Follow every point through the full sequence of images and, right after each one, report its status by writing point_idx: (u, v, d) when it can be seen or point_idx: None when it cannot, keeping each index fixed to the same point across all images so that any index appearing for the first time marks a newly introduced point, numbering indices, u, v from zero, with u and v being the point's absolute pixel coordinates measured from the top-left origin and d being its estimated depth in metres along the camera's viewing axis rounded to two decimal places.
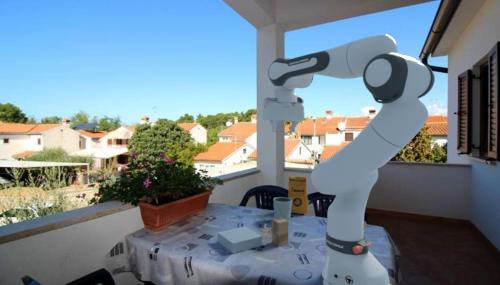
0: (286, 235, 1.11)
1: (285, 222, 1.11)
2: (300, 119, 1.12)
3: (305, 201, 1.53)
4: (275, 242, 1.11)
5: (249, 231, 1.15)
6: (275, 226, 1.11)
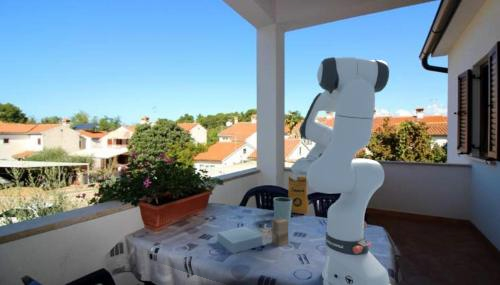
0: (286, 235, 1.11)
1: (285, 222, 1.11)
2: None
3: (305, 201, 1.53)
4: (275, 242, 1.11)
5: (249, 231, 1.15)
6: (275, 226, 1.11)
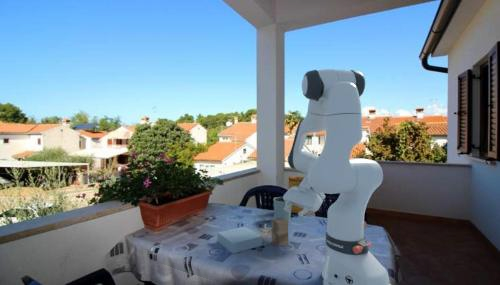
0: (286, 235, 1.12)
1: (285, 222, 1.11)
2: (309, 205, 1.11)
3: None
4: (275, 242, 1.11)
5: (249, 231, 1.15)
6: (275, 226, 1.11)
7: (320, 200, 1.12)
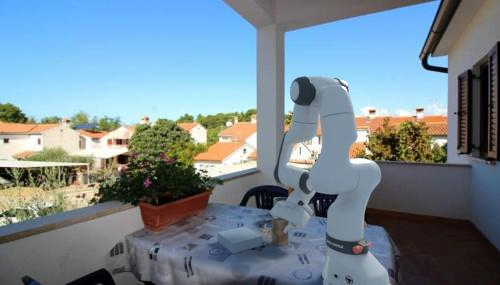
0: (286, 235, 1.11)
1: (285, 222, 1.11)
2: (295, 221, 1.07)
3: None
4: (275, 242, 1.11)
5: (249, 231, 1.15)
6: (275, 226, 1.11)
7: (307, 217, 1.08)
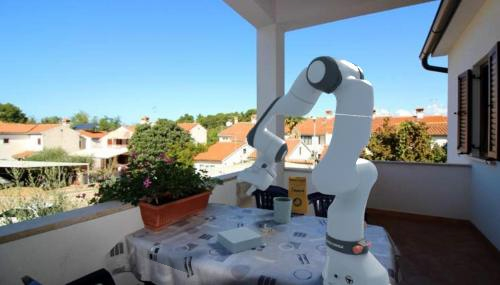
0: (250, 198, 1.11)
1: (248, 185, 1.11)
2: (257, 183, 1.07)
3: (305, 201, 1.53)
4: (238, 205, 1.11)
5: (249, 231, 1.15)
6: (238, 189, 1.11)
7: (270, 178, 1.08)
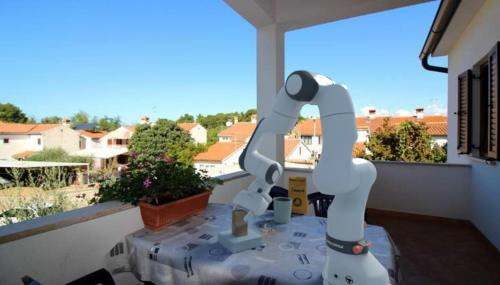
0: (245, 226, 1.11)
1: (244, 213, 1.10)
2: (253, 209, 1.06)
3: (305, 201, 1.53)
4: (234, 233, 1.11)
5: (249, 231, 1.15)
6: (234, 217, 1.11)
7: (265, 204, 1.08)
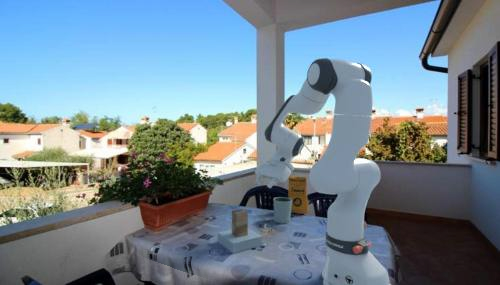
0: (245, 226, 1.11)
1: (244, 213, 1.10)
2: (277, 175, 1.13)
3: (305, 201, 1.53)
4: (234, 233, 1.11)
5: (249, 231, 1.15)
6: (234, 217, 1.11)
7: (288, 171, 1.14)
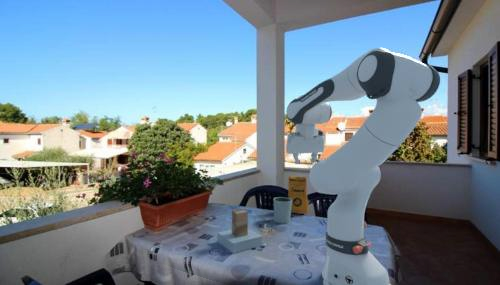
0: (245, 226, 1.11)
1: (244, 213, 1.10)
2: (320, 150, 1.19)
3: (305, 201, 1.53)
4: (234, 233, 1.11)
5: (249, 231, 1.15)
6: (234, 217, 1.11)
7: None
